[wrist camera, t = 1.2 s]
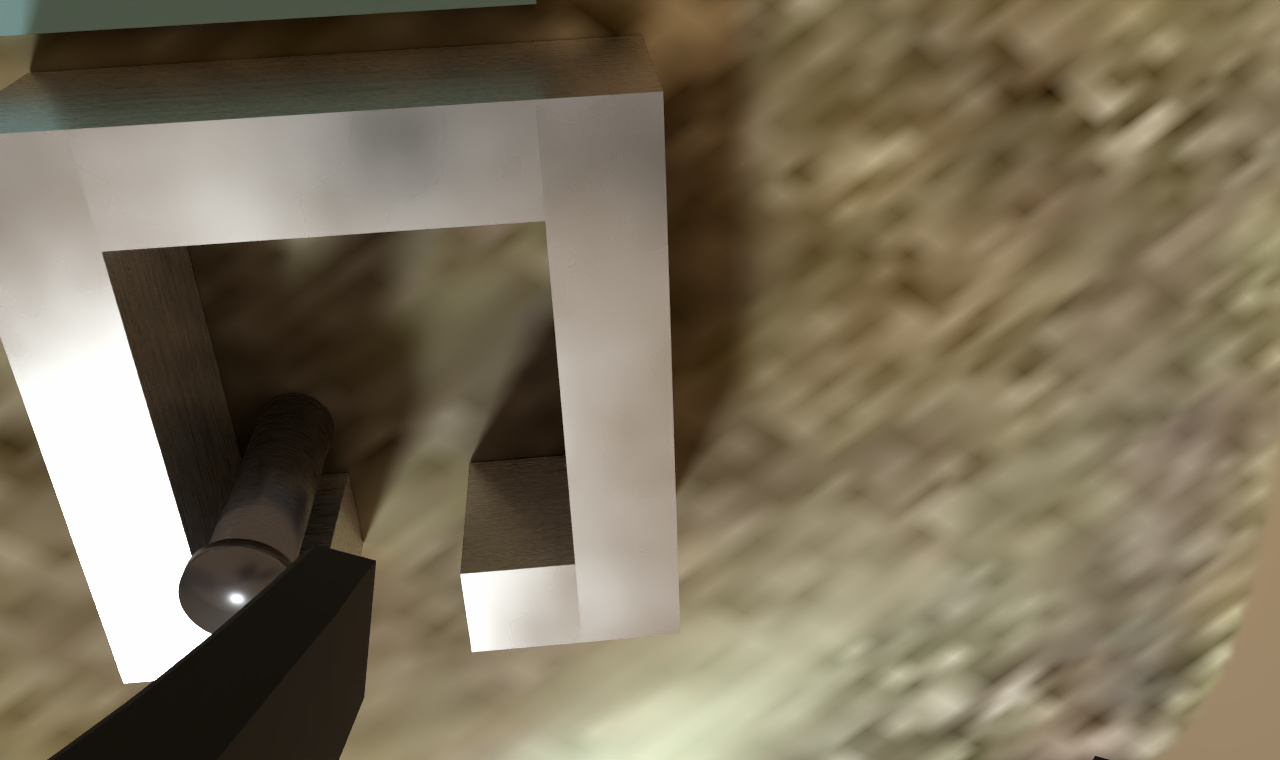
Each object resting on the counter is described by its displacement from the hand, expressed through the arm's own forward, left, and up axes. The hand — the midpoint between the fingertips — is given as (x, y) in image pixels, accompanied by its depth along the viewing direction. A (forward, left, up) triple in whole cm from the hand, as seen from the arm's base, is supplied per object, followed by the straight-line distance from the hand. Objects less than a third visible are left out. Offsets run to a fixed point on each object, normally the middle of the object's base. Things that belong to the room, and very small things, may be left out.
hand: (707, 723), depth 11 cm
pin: (-7, -3, -11) cm, 13 cm away
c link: (-5, -1, -11) cm, 12 cm away
